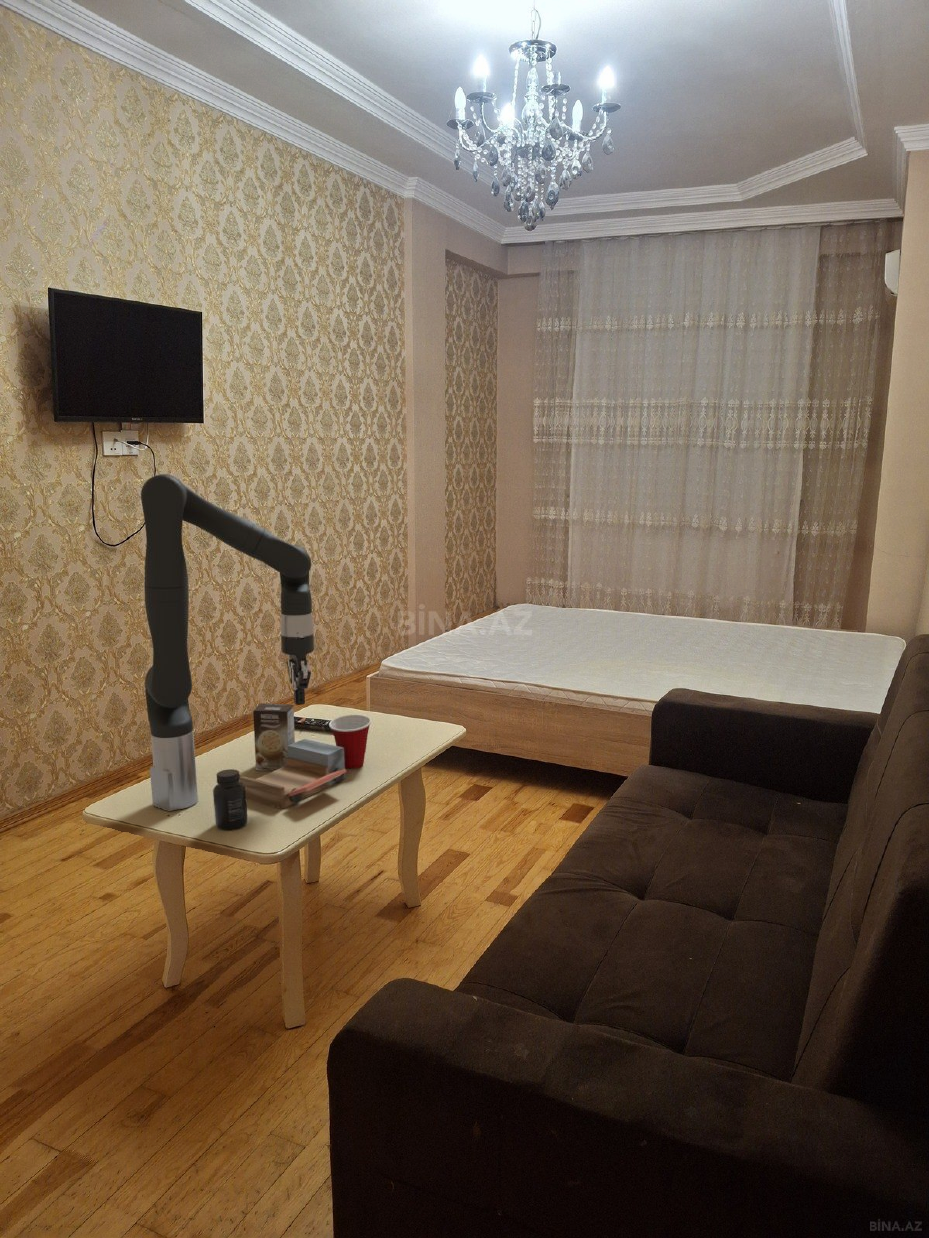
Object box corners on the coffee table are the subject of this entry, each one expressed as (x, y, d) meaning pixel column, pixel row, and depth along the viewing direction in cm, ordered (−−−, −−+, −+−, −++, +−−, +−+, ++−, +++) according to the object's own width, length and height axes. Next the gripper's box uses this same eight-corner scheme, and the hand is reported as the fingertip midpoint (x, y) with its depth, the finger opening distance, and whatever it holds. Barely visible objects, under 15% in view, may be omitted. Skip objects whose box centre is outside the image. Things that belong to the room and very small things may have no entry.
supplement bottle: (250, 817, 199) (247, 766, 197) (244, 831, 192) (241, 778, 190) (219, 818, 199) (216, 767, 197) (212, 831, 192) (208, 779, 190)
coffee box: (254, 770, 228) (251, 710, 224) (262, 762, 234) (259, 702, 231) (289, 771, 227) (286, 711, 224) (297, 762, 233) (294, 703, 230)
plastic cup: (321, 768, 229) (319, 723, 226) (347, 755, 238) (345, 712, 236) (356, 775, 224) (354, 729, 221) (381, 762, 233) (379, 717, 231)
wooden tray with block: (285, 809, 203) (283, 776, 202) (241, 797, 211) (239, 765, 209) (348, 779, 221) (347, 748, 220) (305, 768, 229) (304, 738, 227)
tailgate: (289, 797, 203) (307, 791, 200) (288, 792, 203) (305, 787, 200) (329, 778, 215) (346, 772, 211) (328, 774, 215) (345, 768, 211)
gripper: (274, 628, 212) (276, 699, 215) (288, 639, 200) (291, 713, 204) (305, 625, 215) (307, 695, 218) (321, 636, 203) (323, 709, 207)
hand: (299, 704), depth 211 cm, fingers closed
